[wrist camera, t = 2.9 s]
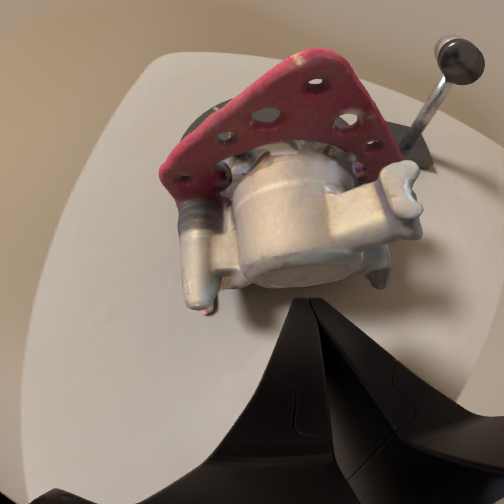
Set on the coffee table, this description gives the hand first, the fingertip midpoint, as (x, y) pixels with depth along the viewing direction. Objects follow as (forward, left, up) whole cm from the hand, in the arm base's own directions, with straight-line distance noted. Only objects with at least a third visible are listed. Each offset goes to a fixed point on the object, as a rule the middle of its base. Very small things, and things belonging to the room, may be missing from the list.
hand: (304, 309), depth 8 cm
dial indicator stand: (+14, -11, -7) cm, 18 cm away
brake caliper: (+6, 0, -7) cm, 9 cm away
